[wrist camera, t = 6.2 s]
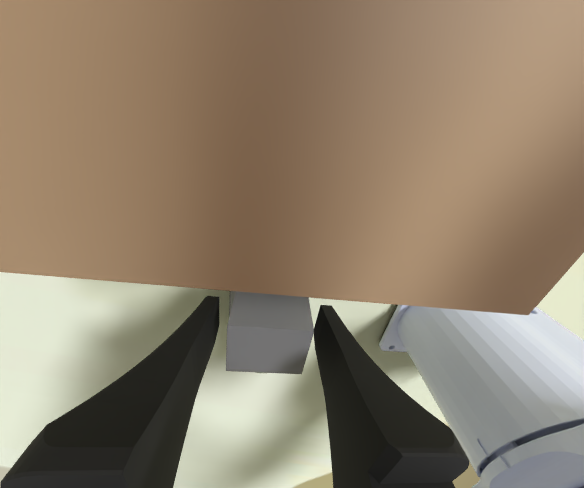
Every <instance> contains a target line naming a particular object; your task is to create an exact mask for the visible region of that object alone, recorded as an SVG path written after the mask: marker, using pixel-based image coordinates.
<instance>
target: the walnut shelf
mask: <svg viewBox="0 0 584 488" xmlns="http://www.w3.org/2000/svg"><path fill="white" fill-rule="evenodd" d="M583 252H584V0H0V272H8V273H20V274H32V275H44V276H56V277H68V278H81V279H93V280H105V281H117V282H129V283H141V284H153V285H166V286H178V287H190V288H202V289H214V290H226V291H238V292H251V293H263V294H275V295H287V296H299V297H311V298H323V299H336V300H348V301H360V302H372V303H384V304H396V305H408V306H421V307H433V308H445V309H457V310H469V311H481V312H493V313H506V314H518V315H529V314H530V313H531V312H532V311H533V309H534V308H535V307H536V306H537V305H538V304H539V303H540V301H541V300H542V299H543V298H544V297H545V296H546V295H547V293H548V292H549V291H550V290H551V289H552V288H553V287H554V286H555V284H556V283H557V282H558V281H559V280H560V279H561V278H562V276H563V275H564V274H565V273H566V272H567V271H568V270H569V268H570V267H571V266H572V265H573V264H574V263H575V262H576V260H577V259H578V258H579V257H580V256H581V255H582V254H583Z"/></svg>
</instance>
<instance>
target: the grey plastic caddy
mask: <svg viewBox="0 0 584 488" xmlns="http://www.w3.org/2000/svg"><path fill="white" fill-rule="evenodd" d="M308 298H309V297H299V296H287V295H275V294H263V293H251V292H238V291H230V308H229V321H228V325H227V353H226V371H243V372H256V373H288V374H302V371H303V368H304V364H305V361H306V357H307V354H308V350H309V347H310V343H311V340H312V337H313V333H314V328H313V322H312V316H311V310H310V305H309V299H308Z"/></svg>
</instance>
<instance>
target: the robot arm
mask: <svg viewBox="0 0 584 488" xmlns="http://www.w3.org/2000/svg"><path fill="white" fill-rule="evenodd" d="M218 328H219V297H213V296H207V297H205V299H204V300H203V301H202V302H201V304H200V305H199V306H198V307H197V308H196V310H195V311H194V312H193V313H192V314H191V315H190V316H189V317H188V318H187V319H186V321H185V322H184V323H183V324H182V325H181V326H180V327H179V328H178V329H177V330H176V331H175V332H174V333H173V334H172V335H171V336H170V337H169V338H168V339H167V340H166V341H165V342H163V343H162V344H161V345H160V346H159V347H158V348H157V349H156V350H154V351H153V352H152V353H151V354H150V355H149V356H147V357H146V358H145V359H144V360H142V361H141V362H140V363H139V364H137V365H136V366H135V367H134V368H132V369H131V370H130V371H128V372H127V373H126V374H124V375H123V376H122V377H120V378H119V379H118V380H116V381H115V382H113V383H112V384H110V385H109V386H107V387H106V388H104V389H103V390H102V391H100V392H99V393H97V394H96V395H94V396H93V397H91V398H90V399H88V400H87V401H85V402H84V403H82V404H80V405H79V406H77V407H75V408H74V409H72V410H71V411H69V412H67V413H66V414H64V415H62V416H61V417H59V418H58V419H56V420H54V421H53V422H51V423H49V424H47V425H46V426H45V428H44V429H43V430H42V431H41V432H40V433H39V434H38V436H37V437H36V438H35V439H34V440H33V441H32V442H31V444H30V445H29V446H28V447H27V449H26V450H25V451H24V453H23V454H22V455H21V456H20V458H19V459H18V460H17V462H16V463H15V464H14V465H13V467H12V468H11V469H10V471H9V472H8V473H7V474H6V476H5V477H4V478H3V480H2V481H1V488H173V485H174V481H175V477H176V472H177V468H178V464H179V460H180V456H181V452H182V448H183V444H184V440H185V436H186V432H187V428H188V425H189V421H190V417H191V413H192V409H193V406H194V402H195V398H196V395H197V392H198V389H199V386H200V383H201V380H202V377H203V375H204V372H205V369H206V366H207V364H208V361H209V358H210V355H211V352H212V350H213V347H214V344H215V340H216V336H217V332H218ZM314 341H315V350H316V355H317V360H318V365H319V370H320V375H321V380H322V385H323V390H324V395H325V402H326V410H327V419H328V428H329V438H330V449H331V461H332V473H333V488H455V487H454V484H453V483H452V481H453V480H454V479H456V478H457V477H458V476H459V475H461V474H462V473H463V472H464V471H465V470H466V469H467V468H468V466H469V461H470V463H471V465H472V466H473V468H474V470H475V472H476V473H477V475H478V477H480V480H479V482H478V483H477V484H475V485H474V486H472V488H584V340H583V339H581V338H580V337H578V336H577V335H576V334H574V333H573V332H571V331H570V330H569V329H567V328H566V327H564V326H563V325H561V324H560V323H559V322H557V321H556V320H554V319H553V318H551V317H550V316H549V315H547V314H546V313H544V312H543V311H541V310H540V309H539V308H537V307H535V308H534V309H533V311H532V312H531V313H530V314H529V315H518V314H506V313H493V312H481V311H469V310H457V309H445V308H433V307H421V306H408V305H398V306H397V308H396V310H395V312H394V314H393V316H392V318H391V320H390V322H389V324H388V326H387V328H386V330H385V332H384V335H383V337H382V339H381V341H380V343H379V347H380V349H381V350H383V351H398V352H408V354H409V356H410V357H411V359H412V361H413V363H414V365H415V366H416V368H417V370H418V372H419V373H420V375H421V377H422V379H423V380H424V382H425V384H426V386H427V387H428V389H429V391H430V393H431V394H432V396H433V398H434V400H435V401H436V403H437V405H438V407H439V408H440V410H441V412H442V414H443V415H444V417H445V419H446V421H447V422H448V424H449V426H450V428H451V429H450V428H449V427H448V426H446V425H445V424H444V423H442V422H441V421H440V420H438V419H437V418H436V417H435V416H433V415H432V414H431V413H429V412H428V411H427V410H425V409H424V408H423V407H422V406H420V405H419V404H418V403H417V402H416V401H414V400H413V399H412V398H411V397H410V396H409V395H407V394H406V393H405V392H404V391H403V390H402V389H401V388H400V387H399V386H397V385H396V384H395V383H394V382H393V381H392V380H391V379H390V378H389V377H388V376H387V375H386V374H385V373H384V372H383V371H382V370H381V369H380V368H379V367H378V366H377V365H376V364H375V363H374V362H373V360H372V359H371V358H370V357H369V356H368V355H367V354H366V352H365V351H364V350H363V349H362V347H361V346H360V345H359V344H358V342H357V341H356V340H355V339H354V337H353V336H352V334H351V333H350V332H349V330H348V329H347V328H346V326H345V325H344V323H343V322H342V320H341V319H340V318H339V316H338V315H337V313H336V312H335V310H334V309H333V307H332V306H328V305H321V306H320V310H319V313H318V317H317V320H316V324H315V328H314Z"/></svg>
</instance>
